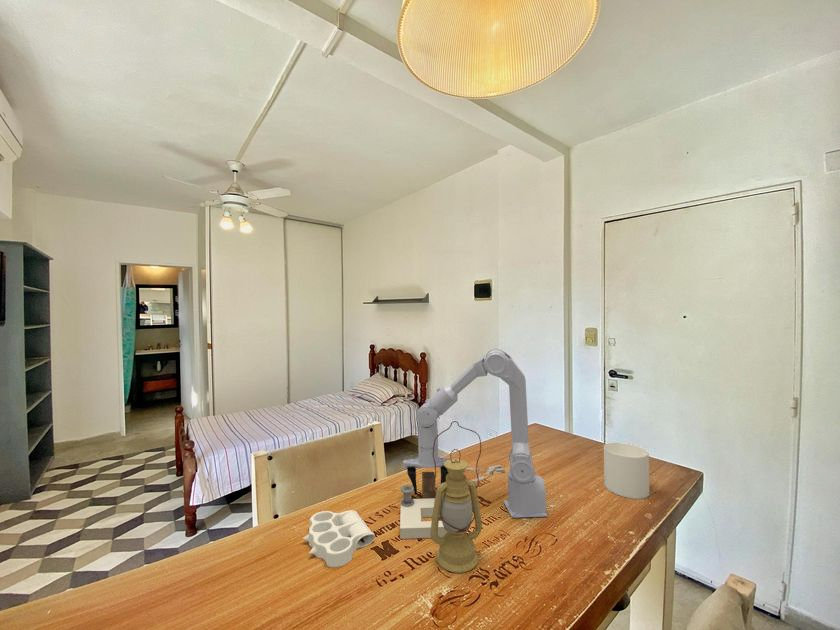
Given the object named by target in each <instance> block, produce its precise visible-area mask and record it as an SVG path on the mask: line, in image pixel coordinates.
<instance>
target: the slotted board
mask: <svg viewBox="0 0 840 630" xmlns="http://www.w3.org/2000/svg"><path fill="white" fill-rule="evenodd" d="M400 492H401V493H403V499H400V512H399V513H400V521H399V540H400V539H401V540H406V539H408V540H409V539H411V540H412V539H432V538H431V522H432V520H428V521H422V518H432V514H433V508H434V502H435V498H430V499H423V498H412V493H414V487H413V485H412V484H411V485H409V484H406V485H403V486H401V487H400ZM439 518H441V516H440V515H439ZM446 533H447V531H446V530H445V528H444V526H443V523H442V521H441V520H439V524H438V536H439V537H443V536H444V535H445V534H446Z"/></svg>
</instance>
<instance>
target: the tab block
mask: <svg viewBox="0 0 840 630" xmlns="http://www.w3.org/2000/svg"><path fill="white" fill-rule="evenodd" d="M421 475H422V477H421V478H422V480H421V482H422V483H421V485H422V487H421V490H422V491H421V494H422V499H430V498H435V494H436V490H437V489H436V480H435V481H434V478H435V471H422V472H421ZM435 479H436V478H435ZM433 481H434V485H433ZM432 486H433V490H434V492H435V494H434V492H433V490H432Z"/></svg>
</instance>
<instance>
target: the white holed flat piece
mask: <svg viewBox="0 0 840 630" xmlns="http://www.w3.org/2000/svg"><path fill="white" fill-rule="evenodd" d="M375 538H376V536H375V533H374V532H372V531H371V529H370V528H369V527H368V525H367V524H366V522H365V521H364V520H363V519H362V518H361V516H360V515H359V514H358V512H357V511H356V510H352V509H350V510H345V511H342V512H333V511H330V510H322V511H318V512H316V513H314V514H313V515H311V517H310V518H309V529H308V534H306V535H305V536H303V538H302V540H304V541H307V542H308V545H309V547H311V550H310V551H309V552H308V555H314V556H315V557H316V558H318V559H322V560H324V562H325V563H326V566H327V567H330V568H340V567H343V566H345V565H347V564H349V563H350V562H351V561H352V560H353V555H354V554H353V553H354V552H355V551H356V550H358V549H360V548H364V547H366V546H369V545H370V544H372V543H373V542H374V541H375V540H376V539H375ZM361 539H362V541H361Z"/></svg>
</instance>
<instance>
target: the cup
mask: <svg viewBox="0 0 840 630" xmlns="http://www.w3.org/2000/svg"><path fill="white" fill-rule="evenodd" d="M603 474H604V475H603V483H604V484H603V485H604V487H605V489H606V490H608V491H609V492H610V493H612V494H614V495H617V496H619V497H623V498H627V499H632V500H642V499H646V498H648V497H649V496H650V454H649V451H648V450H646V449H645V448H644V447H640V446H639V445H634V444H630V443H626V442H608V443H606V444H604V445H603Z"/></svg>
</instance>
